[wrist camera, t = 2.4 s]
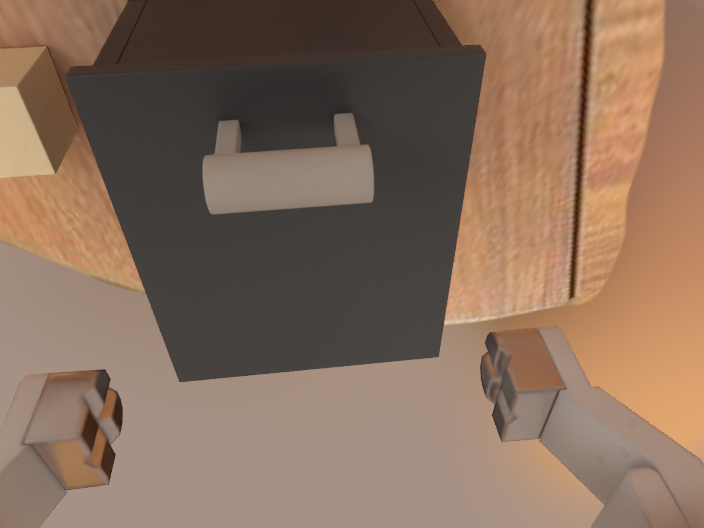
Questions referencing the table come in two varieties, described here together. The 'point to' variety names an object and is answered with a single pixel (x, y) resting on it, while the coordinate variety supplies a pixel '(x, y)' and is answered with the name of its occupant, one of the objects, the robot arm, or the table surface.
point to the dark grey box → (269, 28)
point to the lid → (289, 200)
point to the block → (32, 114)
